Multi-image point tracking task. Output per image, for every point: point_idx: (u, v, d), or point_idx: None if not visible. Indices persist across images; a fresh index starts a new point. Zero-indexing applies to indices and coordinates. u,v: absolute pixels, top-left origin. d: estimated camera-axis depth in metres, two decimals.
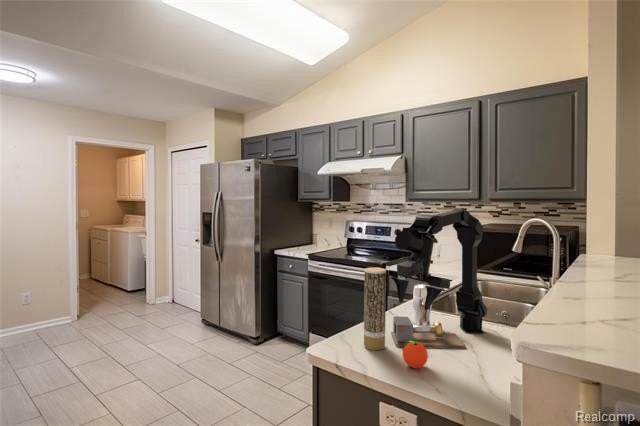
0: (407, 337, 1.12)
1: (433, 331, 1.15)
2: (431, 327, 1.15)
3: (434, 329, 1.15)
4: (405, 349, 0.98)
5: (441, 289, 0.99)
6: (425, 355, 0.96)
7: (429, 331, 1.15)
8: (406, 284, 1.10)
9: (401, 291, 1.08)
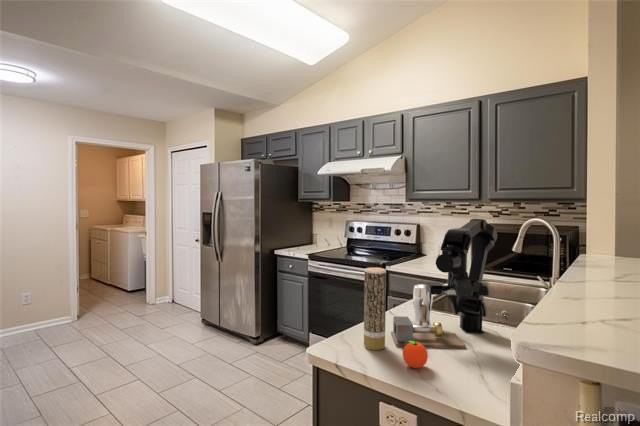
0: (407, 337, 1.12)
1: (433, 331, 1.15)
2: (431, 327, 1.15)
3: (434, 329, 1.15)
4: (405, 349, 0.98)
5: None
6: (425, 355, 0.96)
7: (429, 331, 1.15)
8: None
9: None
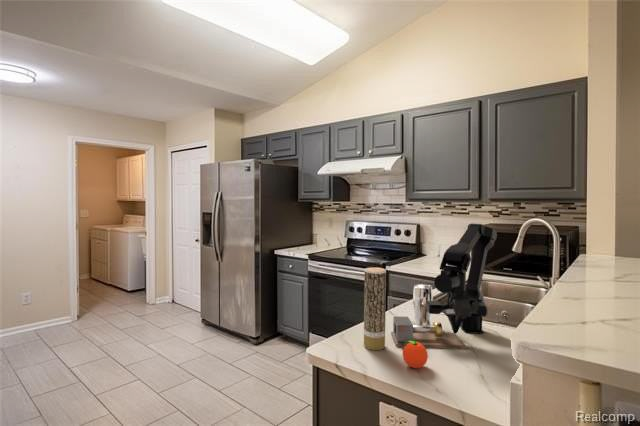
0: (407, 337, 1.12)
1: (433, 331, 1.15)
2: (431, 327, 1.15)
3: (434, 329, 1.15)
4: (405, 349, 0.98)
5: None
6: (425, 355, 0.96)
7: (429, 331, 1.15)
8: None
9: None
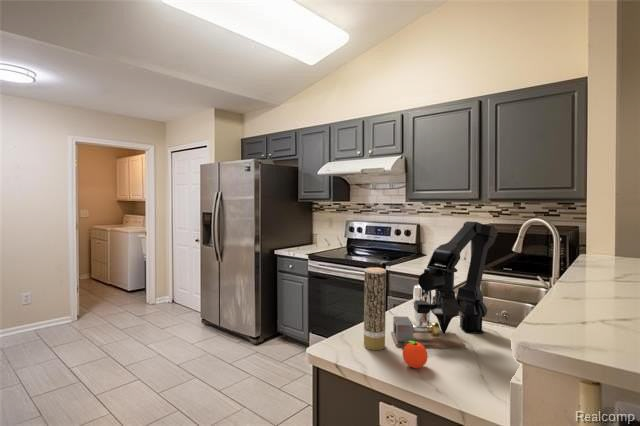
0: (407, 337, 1.12)
1: (430, 331, 1.15)
2: (428, 327, 1.15)
3: (431, 329, 1.15)
4: (405, 349, 0.98)
5: None
6: (425, 355, 0.96)
7: (426, 331, 1.15)
8: None
9: None
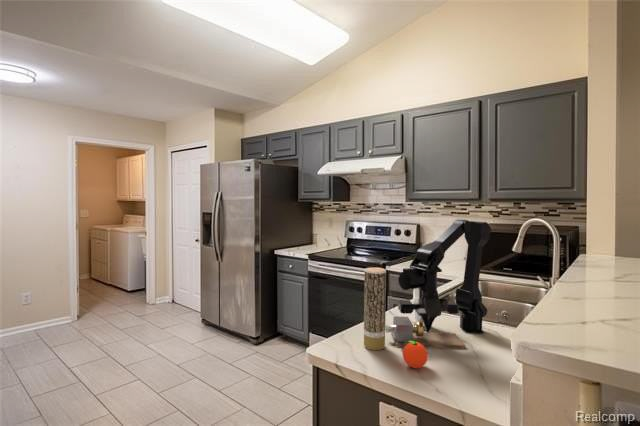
0: (407, 337, 1.12)
1: (414, 331, 1.15)
2: None
3: (415, 329, 1.15)
4: (405, 349, 0.98)
5: None
6: (425, 355, 0.96)
7: None
8: None
9: None
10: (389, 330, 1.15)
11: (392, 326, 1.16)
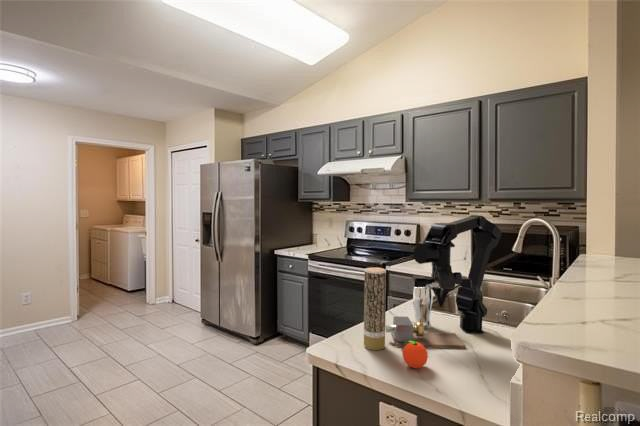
0: (407, 337, 1.12)
1: (415, 331, 1.15)
2: (413, 327, 1.16)
3: (416, 329, 1.15)
4: (405, 349, 0.98)
5: None
6: (425, 355, 0.96)
7: None
8: None
9: None
10: (389, 330, 1.15)
11: (392, 326, 1.16)
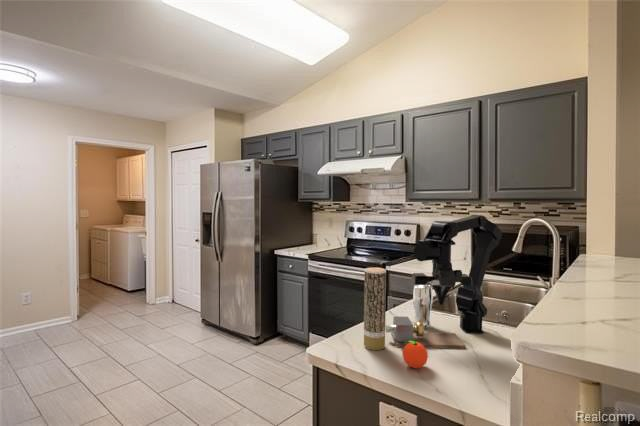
0: (407, 337, 1.12)
1: (415, 331, 1.15)
2: (413, 327, 1.16)
3: (416, 329, 1.15)
4: (405, 349, 0.98)
5: None
6: (425, 355, 0.96)
7: None
8: None
9: None
10: (389, 330, 1.15)
11: (392, 326, 1.16)
